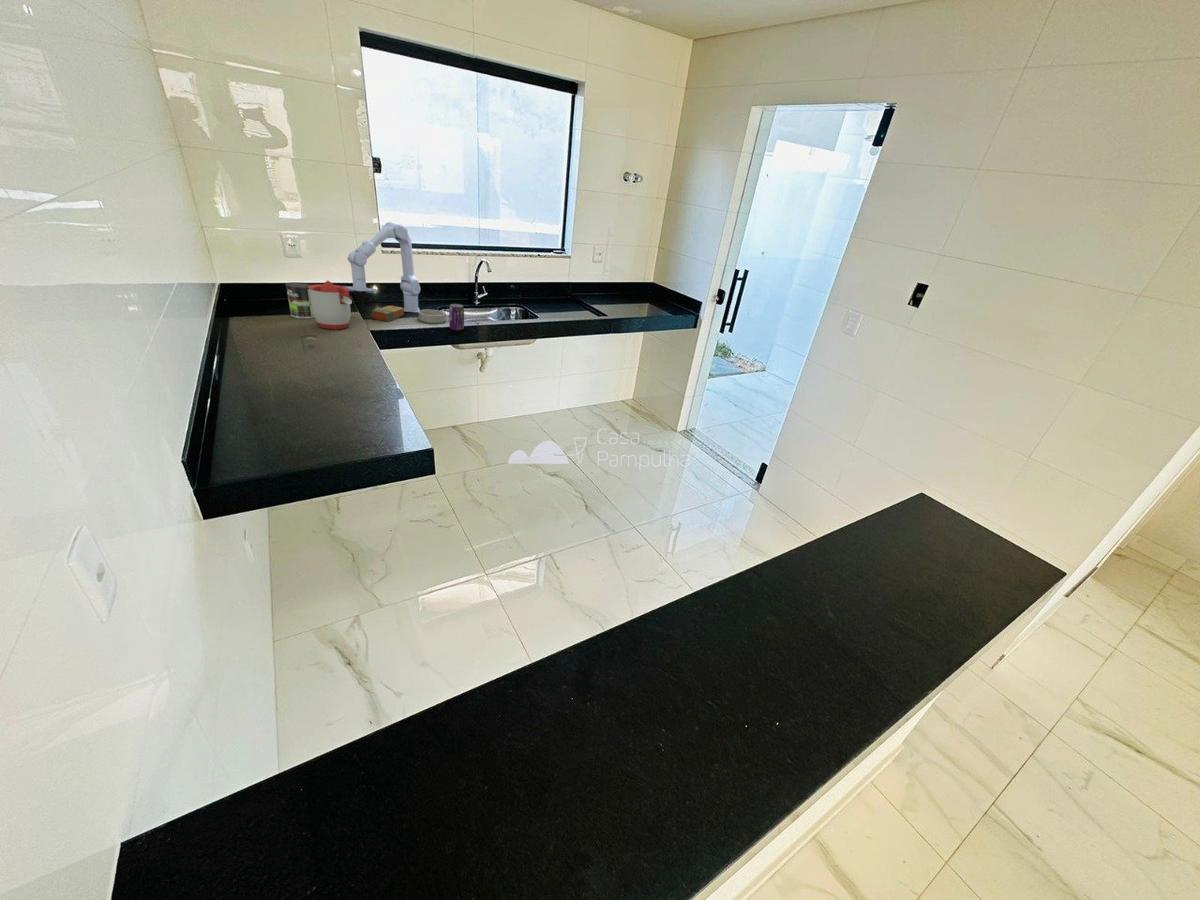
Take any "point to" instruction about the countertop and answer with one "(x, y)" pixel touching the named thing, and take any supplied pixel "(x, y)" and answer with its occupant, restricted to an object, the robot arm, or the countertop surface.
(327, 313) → the citrus juicer
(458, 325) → the beverage can
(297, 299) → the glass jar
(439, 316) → the beige round dish
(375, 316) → the carton
